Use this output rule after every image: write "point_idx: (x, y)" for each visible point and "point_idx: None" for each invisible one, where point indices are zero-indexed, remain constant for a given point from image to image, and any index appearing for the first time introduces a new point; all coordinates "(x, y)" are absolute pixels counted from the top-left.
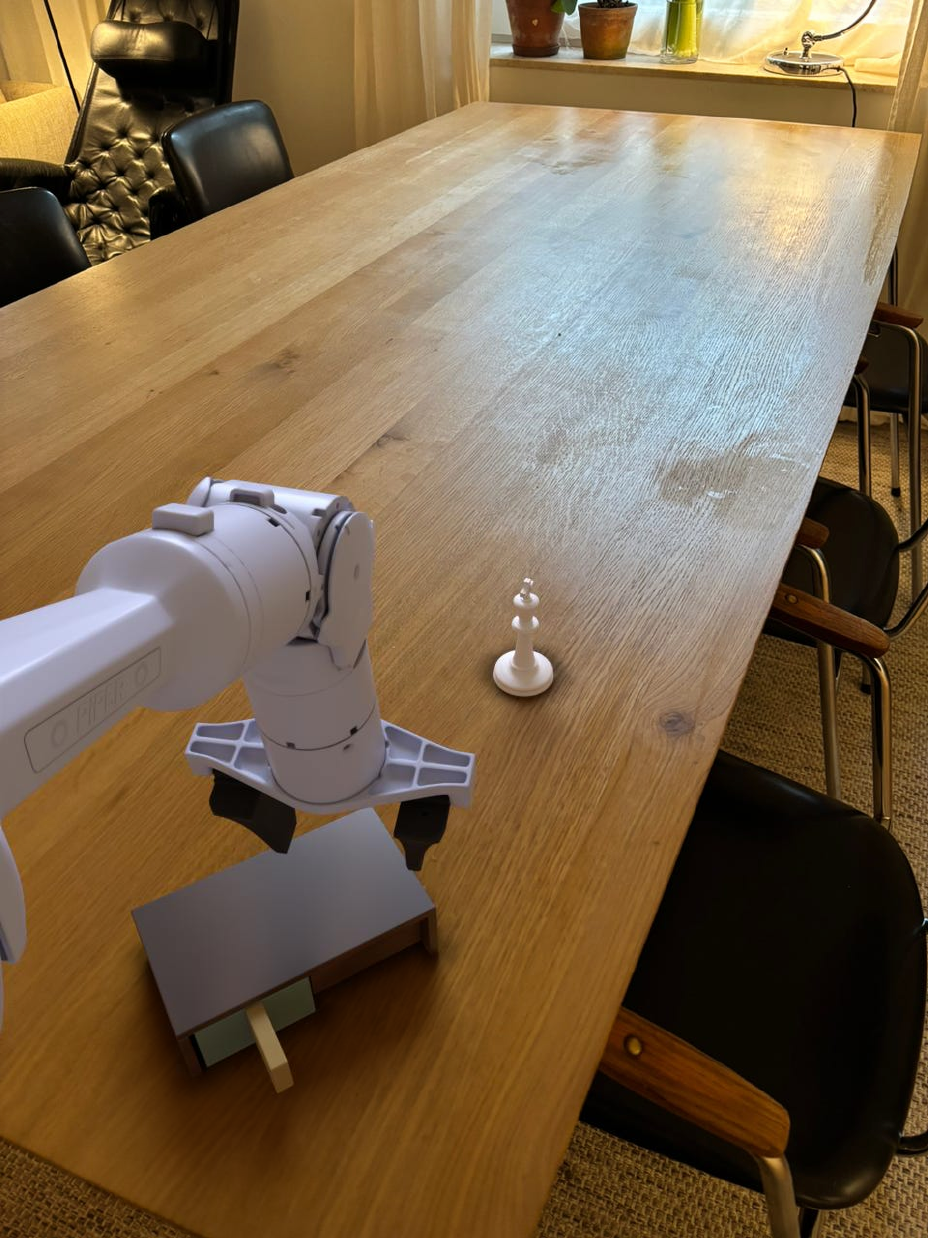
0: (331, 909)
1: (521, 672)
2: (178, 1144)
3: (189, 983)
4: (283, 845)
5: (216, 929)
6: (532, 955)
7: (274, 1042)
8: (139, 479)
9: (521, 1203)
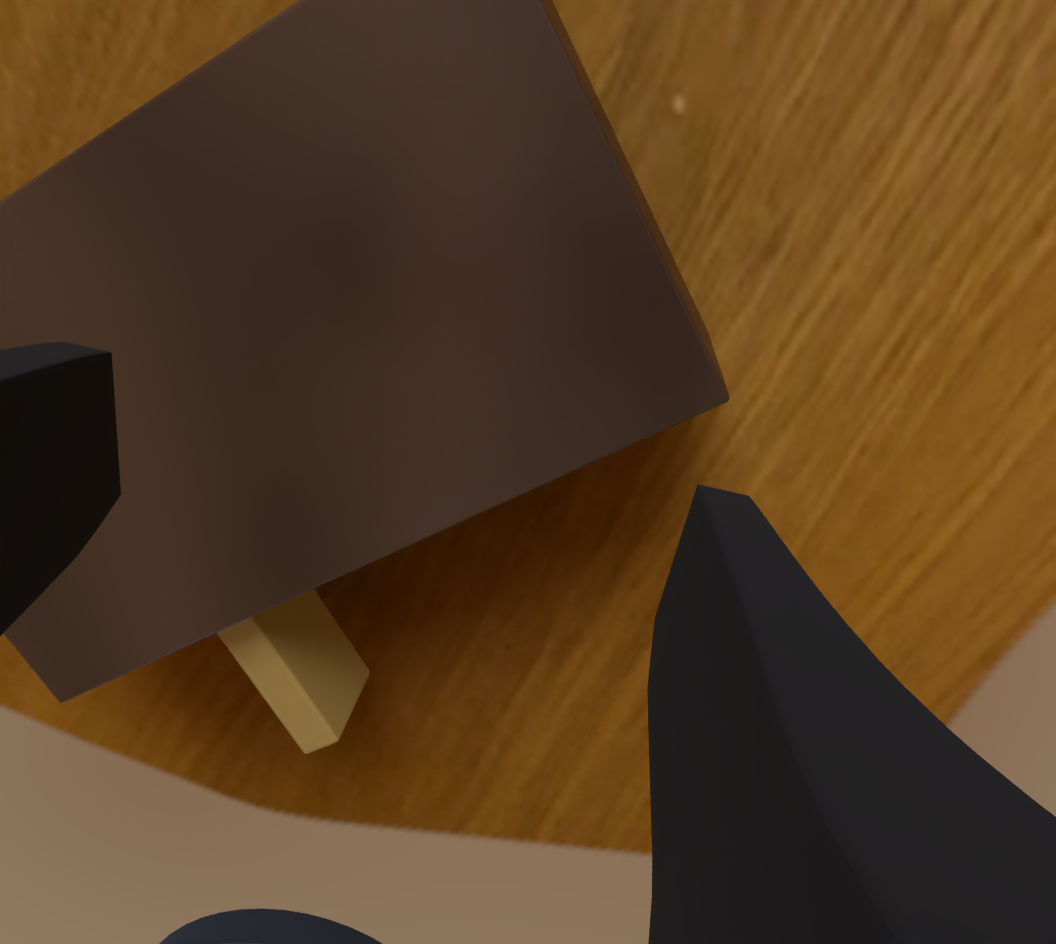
0: (380, 388)
1: None
2: (180, 697)
3: None
4: (73, 539)
5: None
6: (977, 357)
7: (298, 701)
8: None
9: None
